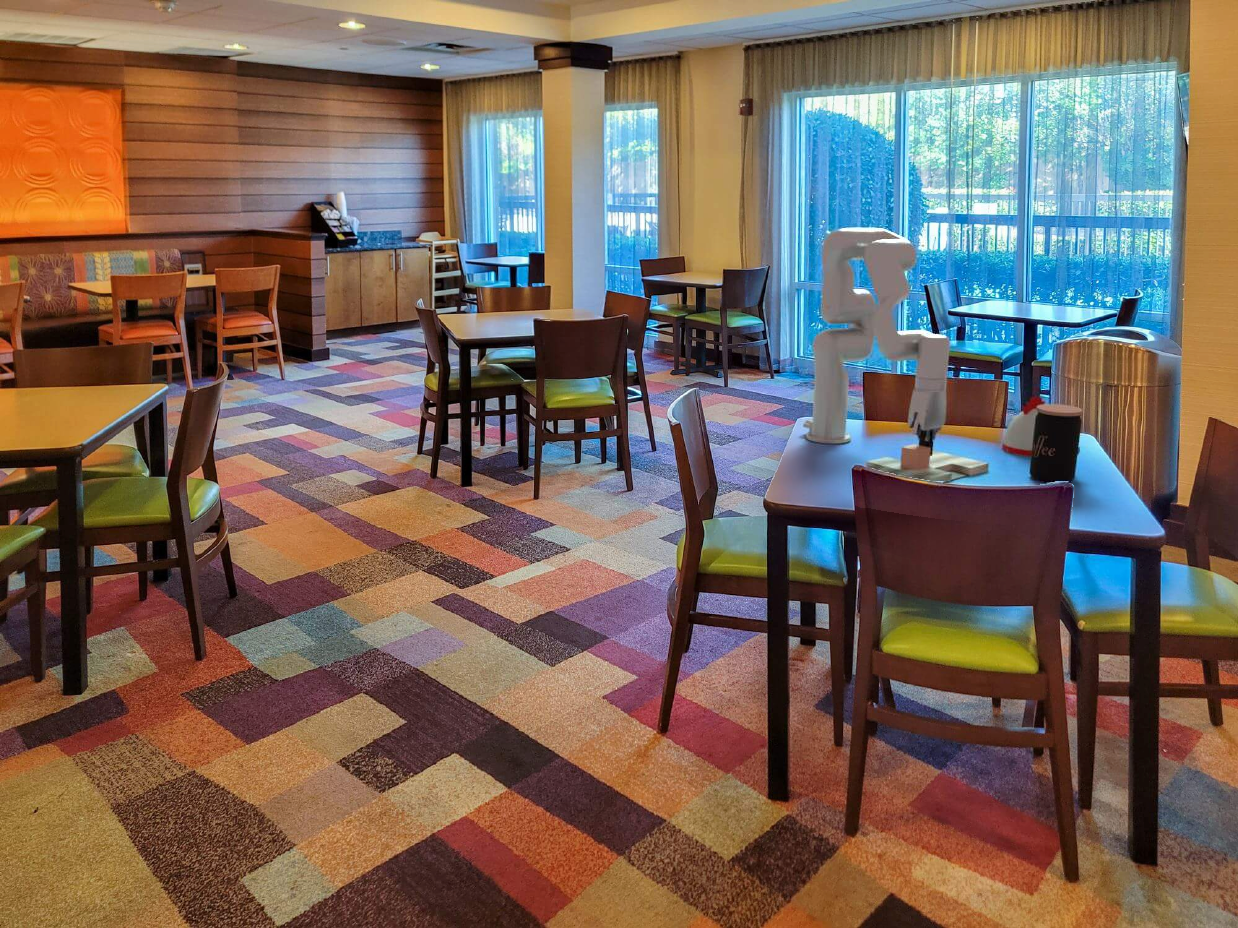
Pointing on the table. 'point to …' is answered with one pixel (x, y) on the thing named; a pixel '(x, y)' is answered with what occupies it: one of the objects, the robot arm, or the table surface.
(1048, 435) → the coffee jar
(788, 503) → the table surface
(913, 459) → the block
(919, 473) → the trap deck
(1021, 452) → the kitchen timer
